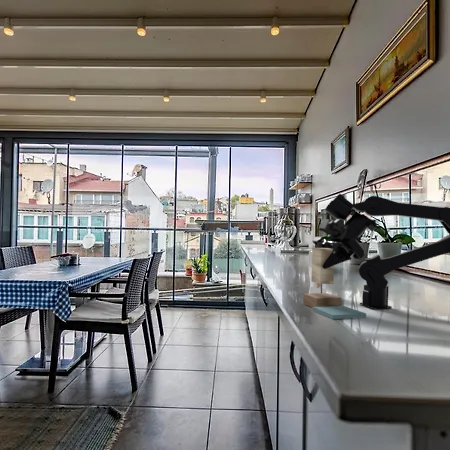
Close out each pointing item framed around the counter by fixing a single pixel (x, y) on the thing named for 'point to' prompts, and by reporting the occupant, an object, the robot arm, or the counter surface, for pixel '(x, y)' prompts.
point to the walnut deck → (321, 300)
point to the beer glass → (314, 286)
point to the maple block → (318, 271)
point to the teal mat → (339, 312)
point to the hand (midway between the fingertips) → (318, 266)
